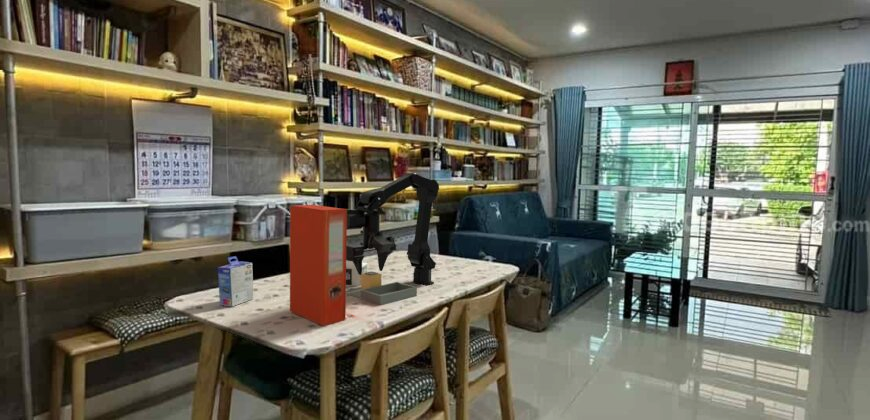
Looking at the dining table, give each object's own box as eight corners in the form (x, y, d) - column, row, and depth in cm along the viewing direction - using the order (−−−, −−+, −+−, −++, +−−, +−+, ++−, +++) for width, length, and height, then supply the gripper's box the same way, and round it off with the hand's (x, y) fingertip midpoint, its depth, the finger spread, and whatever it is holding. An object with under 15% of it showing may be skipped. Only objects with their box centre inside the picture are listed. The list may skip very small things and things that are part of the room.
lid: (377, 285, 173) (377, 281, 173) (395, 291, 166) (395, 286, 166) (341, 293, 161) (341, 288, 161) (359, 299, 154) (359, 294, 154)
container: (360, 287, 170) (360, 252, 168) (340, 286, 171) (340, 251, 170) (367, 282, 177) (367, 248, 176) (348, 281, 179) (348, 247, 177)
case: (395, 291, 166) (395, 281, 166) (416, 297, 159) (416, 287, 158) (359, 299, 154) (359, 289, 154) (380, 306, 147) (380, 296, 147)
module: (372, 288, 166) (372, 270, 166) (381, 291, 163) (381, 272, 162) (360, 290, 163) (361, 272, 162) (370, 293, 159) (370, 275, 159)
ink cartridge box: (240, 297, 155) (240, 253, 153) (254, 299, 153) (253, 255, 151) (217, 305, 145) (216, 259, 144) (232, 307, 143) (231, 260, 142)
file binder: (313, 306, 146) (313, 204, 143) (346, 319, 134) (346, 208, 131) (289, 311, 140) (289, 205, 137) (322, 326, 128) (322, 210, 126)
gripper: (364, 233, 148) (363, 281, 150) (407, 228, 162) (406, 272, 163) (343, 229, 156) (343, 275, 157) (385, 225, 169) (385, 267, 171)
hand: (370, 272), depth 162 cm, fingers open, 9 cm apart
